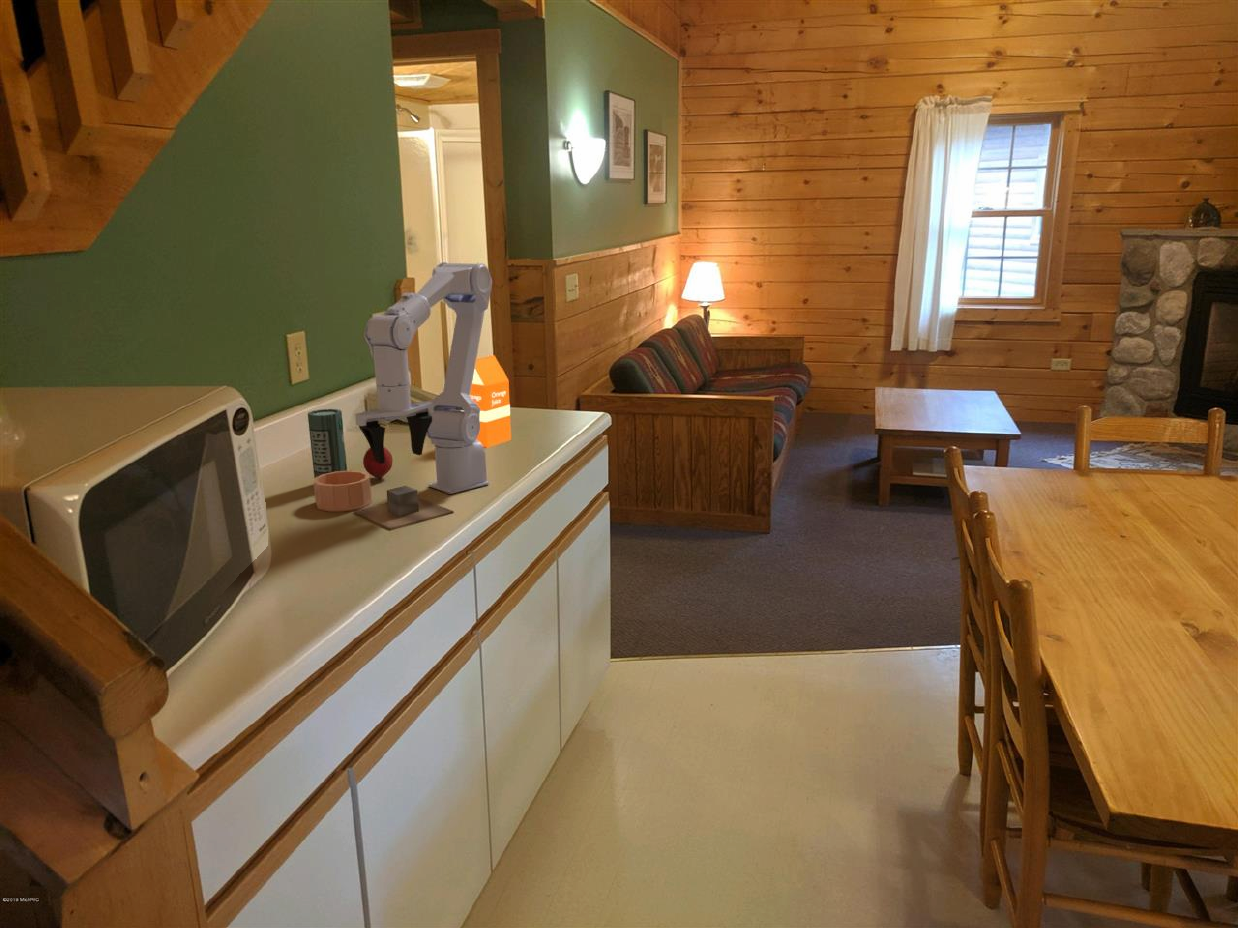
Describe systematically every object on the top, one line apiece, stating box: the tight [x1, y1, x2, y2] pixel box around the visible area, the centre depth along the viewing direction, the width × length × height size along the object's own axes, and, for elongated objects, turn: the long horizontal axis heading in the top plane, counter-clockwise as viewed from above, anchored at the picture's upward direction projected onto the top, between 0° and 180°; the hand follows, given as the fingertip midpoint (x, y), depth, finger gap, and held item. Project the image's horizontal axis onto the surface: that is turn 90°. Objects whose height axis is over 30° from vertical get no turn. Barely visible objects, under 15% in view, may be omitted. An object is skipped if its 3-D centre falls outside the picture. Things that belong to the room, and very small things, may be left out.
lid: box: [353, 485, 454, 531], centre depth 168 cm, size 13×13×5 cm
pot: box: [313, 469, 373, 513], centre depth 174 cm, size 10×10×5 cm
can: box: [307, 408, 348, 480], centre depth 184 cm, size 6×6×15 cm
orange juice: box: [460, 355, 512, 448], centre depth 216 cm, size 8×9×20 cm
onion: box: [362, 446, 394, 480], centre depth 189 cm, size 6×6×8 cm
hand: (398, 458), depth 166 cm, fingers open, 7 cm apart
